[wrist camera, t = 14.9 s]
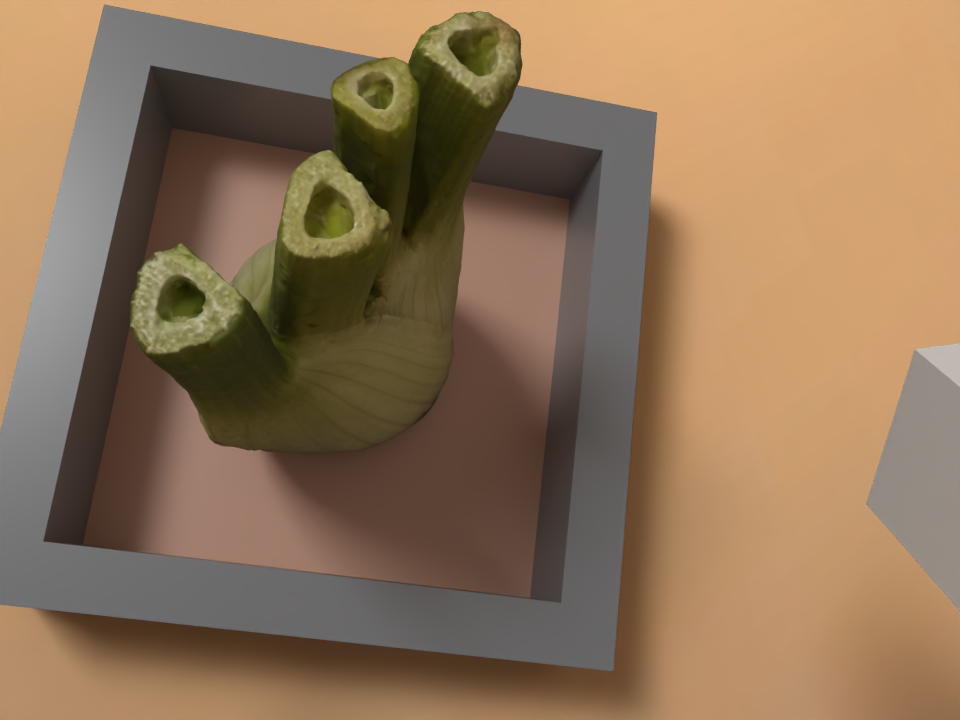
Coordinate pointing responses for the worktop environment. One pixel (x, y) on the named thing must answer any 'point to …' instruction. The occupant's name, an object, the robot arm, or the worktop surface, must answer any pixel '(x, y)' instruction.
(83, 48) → the worktop surface
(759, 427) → the worktop surface
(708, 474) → the worktop surface
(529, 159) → the frame
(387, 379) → the fennel bulb
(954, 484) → the robot arm
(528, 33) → the worktop surface
